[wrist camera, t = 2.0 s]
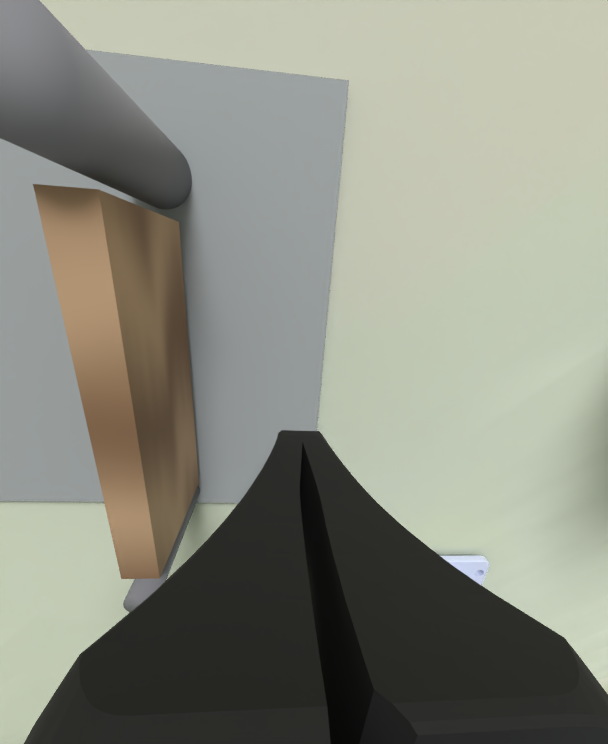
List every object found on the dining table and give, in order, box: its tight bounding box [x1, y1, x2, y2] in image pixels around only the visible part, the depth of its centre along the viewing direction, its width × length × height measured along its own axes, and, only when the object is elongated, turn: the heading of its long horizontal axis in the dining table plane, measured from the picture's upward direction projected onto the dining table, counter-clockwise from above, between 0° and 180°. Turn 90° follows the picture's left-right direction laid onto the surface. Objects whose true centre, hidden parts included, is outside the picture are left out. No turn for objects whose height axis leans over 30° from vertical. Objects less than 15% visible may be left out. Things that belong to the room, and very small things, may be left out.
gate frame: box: [0, 0, 349, 612], centre depth 9 cm, size 17×17×6 cm
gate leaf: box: [33, 184, 199, 579], centre depth 9 cm, size 11×1×4 cm, turn 176°
